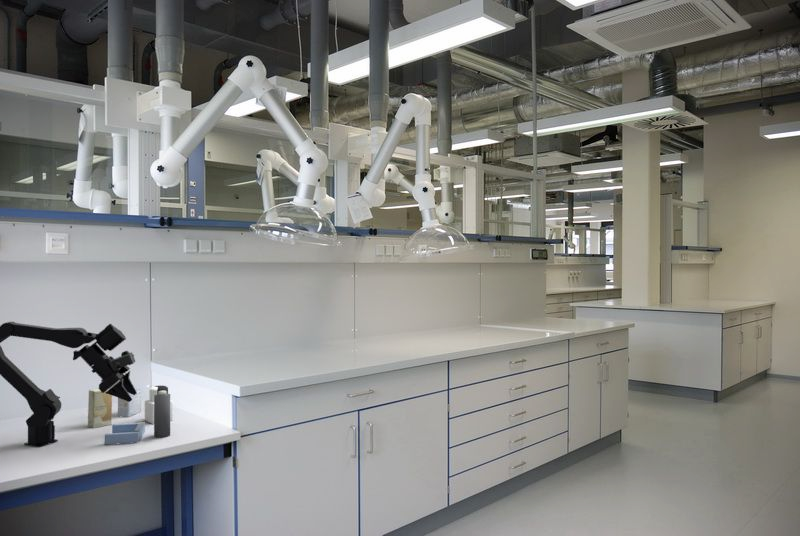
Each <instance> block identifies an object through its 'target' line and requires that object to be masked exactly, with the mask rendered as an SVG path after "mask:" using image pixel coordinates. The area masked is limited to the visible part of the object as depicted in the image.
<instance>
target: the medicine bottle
mask: <svg viewBox="0 0 800 536" xmlns="http://www.w3.org/2000/svg"><path fill="white" fill-rule="evenodd" d="M158 391H166V393H167V394H169V387H168V386H166V385H154V386H151V387H149V392H148V393H149V399H145V400H144V421H146V422H147V423H150V424H152V425H154V395H156V394H158ZM173 405H174V401H173V400H172V399H170V422H171V421H173V420H174V410H173V409H174V406H173Z"/></svg>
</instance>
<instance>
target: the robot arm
mask: <svg viewBox="0 0 800 536" xmlns="http://www.w3.org/2000/svg"><path fill="white" fill-rule="evenodd" d="M9 337H16V338H24V339H33V340H39V341H48V342H53V343H56V344H58V345H60V346H64V347H66V348H71V349H78V348H80V347H82V346H83V345H84V346H83V347H82V348H80V349H79V350H74V351H73V357H72V360H73V361H75V360H78V359H80V358H81V359H82V360H83V361H84V362H85V363H86V364H87V365H88V366H89V367H90V369H92V370H91V372H92V374H94V373H95V374H96V375H97V376H99V378H100V379H101V380H100V383H99V384H98V389H99V390H100V391H101V392H102V393H104V392H105V391H106V390H108V389H109V390H108V391H107V392H106V394H109V395H112V397H116V398H117V399H118V398H120V399H123V400H126V401H128V402H130V401H131V400H132V398H131V396H130V395H129V393H130V394H132V395H135V394H137V392H136V390H135V389H136V388H135V387H134V384H133V383H132V380H131V378H130V375H131V368H130V366H131V365H133V364H135V363H136V362H137V361H136V359H135V354H134V353H133V352H132V351H131V352H130V351H128V350H124V351H122V352H121V354H120V355H121V356H120V355H119V356H118V357H116V358H114V357H113V356H109V355H108V354H107V353H106V352H105V351H110V352H112V351H113V350H115V349H116V348H117V347H118V346H120V344H122V343H124V341H125V340H126V339H127V338H126V336H125V334H124V333H123V332H122V331H121V330H120V329H118V328H117V327H116V326H115V325H113V324H112V323H109V324H107V325H106V326H105V327H104V329H102V330H100V331H99V332H98V333H94V332H90V331H89V332H88V331H87V330H86V329H85V328H83V327H63V328H62V327H60V328H56V327H47V326H40V325H33V324H25V323H19V322H15V321H7V322H3V323H2V324H0V344H1V343H2V342H4V341H6V340H7V339H8V338H9ZM94 341H95V342H94ZM92 342H93V343H92ZM90 343H92V344H91V345H89V344H90ZM0 376H1V377H2V378H3V379H4V380H5V381H6V382H7V383H8V384H10V385H11V387H13V388H14V389H15V390H16V391H17V392H18V393H19V394H20V395H21V396H22V397H23V398H24V399H25V400H26V402H27V404H28V406H29V409H30V410H31V412H32V414H31V415H30V416H29V417H28V418H27V419H26V420H25V423H26V426H27V441H26V442H24V443H23V445H24V446H29V447H35V448H41V447H44V446H47V445H51V444H53V443H57V442H58V439H55V437H56V433H55V432H56V429H55V427H56V426H55V424H54V423H55V421H54V418H55V416H57V415H58V413H59V412H60V411H61V409H62V402H61V400H60V398H61V397H60V396H58V395H57V394H56V393H55V392H54V391H53V390H52V389H51V388H49V389H48V390H46V391H45V390H44V389H41V388H39V386H37V384H35V383H34V382H33V381H32V379H30V378H29V377H28V376H27V375H26V374H25V373H24V372H23V371H22V370H20V368H19V367H18V366H17V365H15V363H13V362H12V360H10V359H9V358H8V357H7V356H6V354H5V351H4V350H3V348H2V346H1V345H0Z"/></svg>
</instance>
